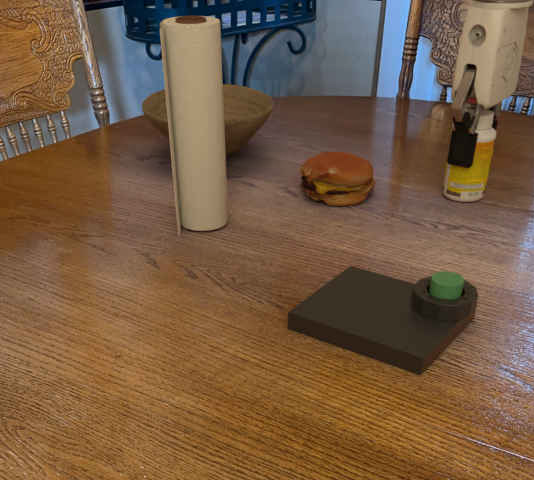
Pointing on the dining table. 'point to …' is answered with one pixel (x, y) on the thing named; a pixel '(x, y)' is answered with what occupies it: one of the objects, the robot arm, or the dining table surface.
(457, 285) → the button
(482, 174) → the supplement bottle
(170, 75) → the paper towel roll
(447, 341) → the scale
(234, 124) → the bowl
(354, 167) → the burger
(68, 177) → the dining table surface
